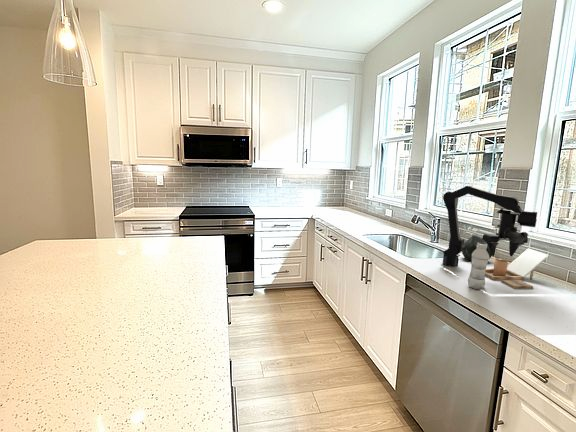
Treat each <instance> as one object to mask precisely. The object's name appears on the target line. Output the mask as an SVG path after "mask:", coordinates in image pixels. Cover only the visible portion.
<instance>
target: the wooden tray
mask: <svg viewBox="0 0 576 432" xmlns="http://www.w3.org/2000/svg"><path fill="white" fill-rule="evenodd" d="M485 278H487V279H490V280H492V281H501V280H521V281H524V278H525V277H522V276H520V275H518V274H515V273H513V272H511V271H509V270H507V272H506V276H493V268H486V270H485Z"/></svg>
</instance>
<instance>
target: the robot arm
mask: <svg viewBox="0 0 576 432" xmlns="http://www.w3.org/2000/svg"><path fill="white" fill-rule="evenodd" d="M467 195H470V196H473V197H475V198H476V197H477V198H480V199H481V200H482V199H483V200H486V201H489V202H491V203H494V204H496V205H498V206H500V207H501V208H500V209H499V210H498V211H496V214H501V216H500V222H499V224H496V225H497V227H498V232H496V233H495V235H494V234H492V233H484V234H483V235H482V237H481V238H482V240H484V241H485V242H486V243H487V245H488V247H489V249H490V252H491V255H492V256H491V257H495V254H496V250H497V246H498V245H499V244H500V243H498V242H499V241H509V242H508V243H509V247H508V248H509V253H508V254H509V257H513V256H514V254H515V253H516V251H518V248H520V247H521V246H523V245H525V244H528V240H529V238H528V237H529V233H528V232H526V231H522V232H520V231H519V232H518V228H517V226H515V225H516V223H517V224H519V226H521V227H529V228H536V225H537V220H538V218H537V217H538V212H537V211H526V210H523V209H522V207H521V206H520V201H519V199H518V198H517V197H515V196H511V195H510V196H509V195H503V194H497V193H493V192H490V191H486V190H483V189H480V188H477V187H474V186H472V185H465V186H464V187H462V188H460V189H456V190H454V191H453V190H451V191H446V192H445V193H444V194H443V196H442V199H443V203H444V205H445V208H446V211H447V217H448V225H449V226H448V228H449V235H450V236H449V237H450V238H449V240H448V248H447V249H445V250H444V251H443V253H442V254H443V257H442V265H443V266H444V267H445V266H446V267H452V268H455V267H458V266H459V261H460V259H459V254H461V253H462V251H463V249H464V247H465V244H464V243H465V238H462V237H461V235H460V227H459V217H458V209H457V208H458V204H459V199H460V198H461V197H464V196H467ZM513 212H514V213H513Z"/></svg>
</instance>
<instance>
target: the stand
mask: <svg viewBox="0 0 576 432" xmlns="http://www.w3.org/2000/svg"><path fill="white" fill-rule="evenodd" d="M500 283H502V284H504V285H506V286H508V287H509V288H511V289H516V290H517V289H518V290H519V289H521V290H522V289H524V290H525V289H528V290H529V289H531V290H532V289H534V286H533V285H532V284H530V283H527V282H525V281H524V280H500Z"/></svg>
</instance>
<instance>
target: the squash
mask: <svg viewBox="0 0 576 432" xmlns="http://www.w3.org/2000/svg"><path fill="white" fill-rule="evenodd" d="M478 242H480V243H486V242H485V241H484V240H482V237H480V236H478V235H474V234H473V235H472V236H470V237H469V238H468V239H467V240H466V241H464V244H465V247H464V249H463V251H462V252H461V254H462V256H463V257H464V259H466V260H468V261H471V262H472V253H473V251H474V250H476V249H477V247H476V246H477V243H478ZM486 244H487V243H486ZM486 251H487V252H488V254H489V259H488V260H490V259H491V258H492V257H493V256H492V255H491V252H490V249H489V247H488V245H487V249H486Z"/></svg>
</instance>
